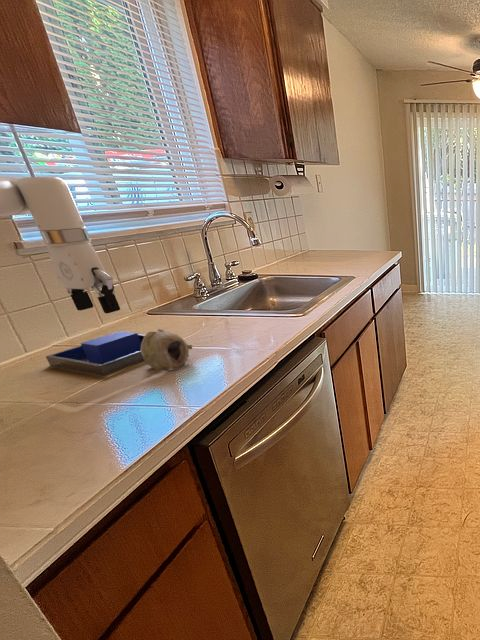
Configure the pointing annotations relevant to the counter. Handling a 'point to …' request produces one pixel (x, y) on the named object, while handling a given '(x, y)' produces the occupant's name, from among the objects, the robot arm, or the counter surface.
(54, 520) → the counter surface
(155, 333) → the beige rounded hollow piece
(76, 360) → the tray
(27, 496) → the counter surface
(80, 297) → the robot arm
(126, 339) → the blue block
